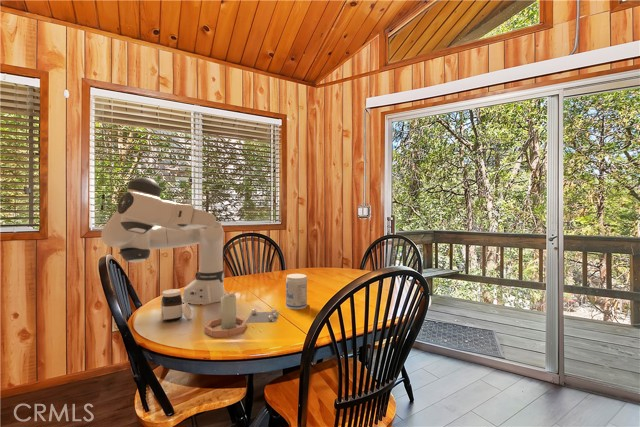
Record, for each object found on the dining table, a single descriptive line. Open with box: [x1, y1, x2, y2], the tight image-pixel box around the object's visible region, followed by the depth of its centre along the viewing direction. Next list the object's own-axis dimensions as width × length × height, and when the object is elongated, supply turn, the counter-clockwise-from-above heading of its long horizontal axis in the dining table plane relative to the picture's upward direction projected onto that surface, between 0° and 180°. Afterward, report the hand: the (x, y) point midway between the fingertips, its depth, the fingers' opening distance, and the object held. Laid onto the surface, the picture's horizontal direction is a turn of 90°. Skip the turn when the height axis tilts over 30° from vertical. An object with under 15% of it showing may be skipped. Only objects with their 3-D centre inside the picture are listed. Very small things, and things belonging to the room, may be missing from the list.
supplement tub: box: [285, 273, 308, 310], centre depth 146 cm, size 10×10×15 cm
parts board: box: [246, 308, 280, 324], centre depth 131 cm, size 12×12×3 cm
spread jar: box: [160, 288, 193, 323], centre depth 131 cm, size 12×11×12 cm
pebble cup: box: [220, 291, 237, 330], centre depth 120 cm, size 6×6×14 cm
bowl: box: [203, 316, 248, 338], centre depth 119 cm, size 14×14×3 cm
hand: (212, 226), depth 115 cm, fingers open, 8 cm apart
